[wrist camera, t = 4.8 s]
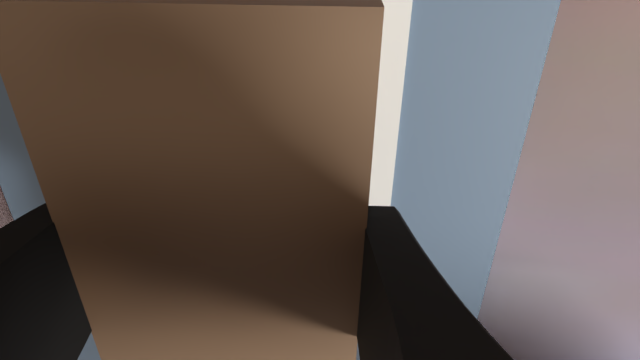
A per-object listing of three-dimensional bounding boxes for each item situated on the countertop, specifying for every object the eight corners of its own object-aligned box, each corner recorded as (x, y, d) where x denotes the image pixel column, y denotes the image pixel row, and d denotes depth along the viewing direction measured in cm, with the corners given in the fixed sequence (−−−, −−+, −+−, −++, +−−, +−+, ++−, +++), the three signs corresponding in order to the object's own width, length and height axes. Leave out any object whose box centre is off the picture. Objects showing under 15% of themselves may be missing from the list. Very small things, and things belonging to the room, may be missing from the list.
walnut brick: (345, 295, 14) (350, 429, 11) (172, 291, 14) (123, 424, 11) (364, -45, 9) (384, 6, 6) (102, -49, 9) (-26, 0, 6)
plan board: (449, 396, 18) (453, 413, 17) (92, 387, 18) (84, 404, 17) (656, -440, 7) (686, -467, 7) (-220, -448, 7) (-269, -476, 7)
